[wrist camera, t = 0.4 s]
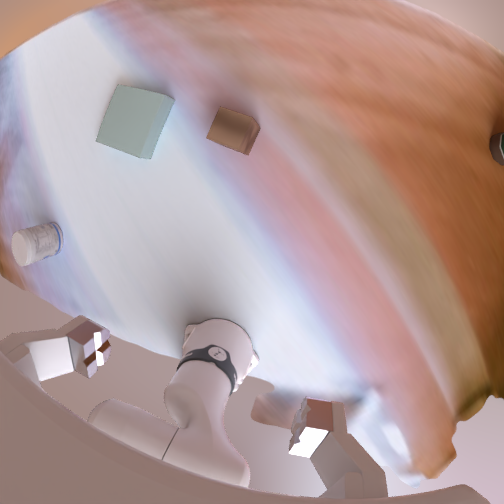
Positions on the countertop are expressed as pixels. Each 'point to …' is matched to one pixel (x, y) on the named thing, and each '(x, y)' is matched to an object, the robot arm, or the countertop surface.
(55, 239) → the supplement tub
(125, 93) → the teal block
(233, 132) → the walnut box
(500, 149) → the beer bottle
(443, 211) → the countertop surface
